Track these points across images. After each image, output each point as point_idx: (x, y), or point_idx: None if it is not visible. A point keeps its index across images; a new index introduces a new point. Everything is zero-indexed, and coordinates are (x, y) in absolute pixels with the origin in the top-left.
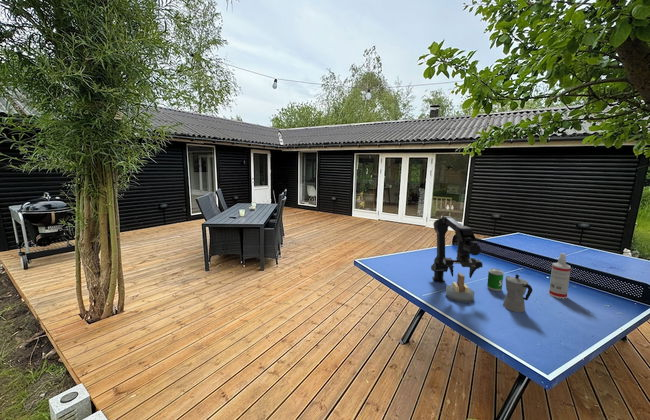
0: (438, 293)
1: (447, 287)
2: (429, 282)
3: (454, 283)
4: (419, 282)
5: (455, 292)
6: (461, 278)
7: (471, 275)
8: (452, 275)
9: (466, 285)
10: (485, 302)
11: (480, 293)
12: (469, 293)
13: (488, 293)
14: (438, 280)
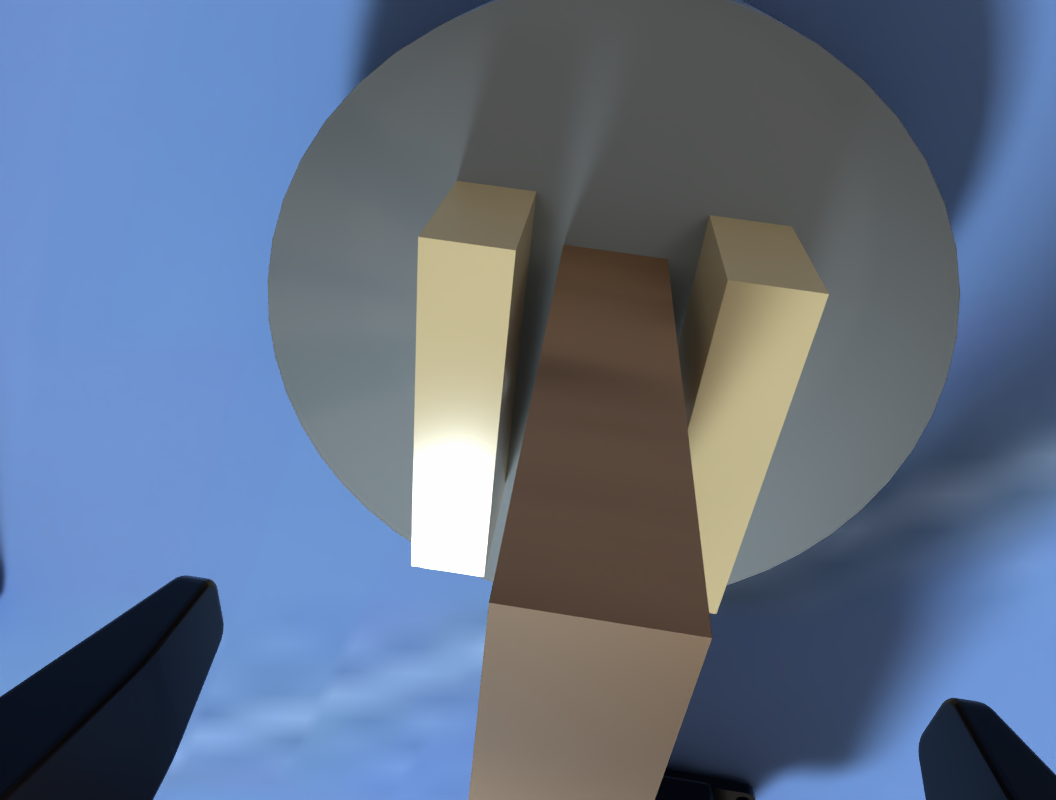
0: (996, 408)
1: (856, 481)
2: (863, 760)
3: (727, 526)
4: (1051, 767)
5: (828, 193)
6: (654, 527)
7: (84, 666)
8: (1018, 755)
9: (417, 410)
10: (124, 37)
11: (142, 430)
12: (429, 155)
13: (10, 433)
14: (701, 789)
